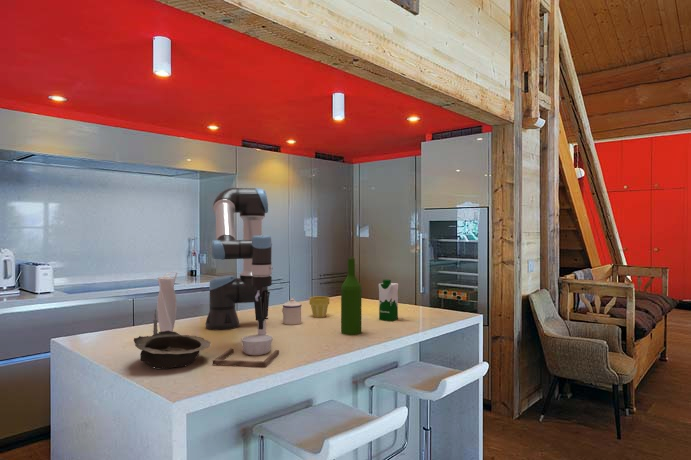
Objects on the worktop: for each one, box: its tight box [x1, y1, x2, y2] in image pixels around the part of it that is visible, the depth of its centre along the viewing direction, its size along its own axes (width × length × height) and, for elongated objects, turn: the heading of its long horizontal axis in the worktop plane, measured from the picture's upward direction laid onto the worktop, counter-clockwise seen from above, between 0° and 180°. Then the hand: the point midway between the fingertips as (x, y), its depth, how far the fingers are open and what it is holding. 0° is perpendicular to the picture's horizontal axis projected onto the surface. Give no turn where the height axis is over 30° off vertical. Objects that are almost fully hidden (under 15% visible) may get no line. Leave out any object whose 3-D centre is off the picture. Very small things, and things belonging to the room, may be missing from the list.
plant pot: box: [308, 295, 330, 318], centre depth 232 cm, size 10×10×10 cm
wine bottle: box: [340, 257, 362, 336], centre depth 196 cm, size 9×9×32 cm
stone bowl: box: [133, 331, 211, 369], centre depth 153 cm, size 25×25×9 cm
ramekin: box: [241, 334, 273, 356], centre depth 165 cm, size 11×11×5 cm
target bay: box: [212, 347, 280, 368], centre depth 156 cm, size 18×15×2 cm
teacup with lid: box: [281, 298, 302, 326], centre depth 217 cm, size 12×9×12 cm
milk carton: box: [378, 279, 399, 322], centre depth 224 cm, size 9×9×20 cm
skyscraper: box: [152, 271, 178, 335], centre depth 184 cm, size 8×8×28 cm
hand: (261, 337), depth 171 cm, fingers closed
